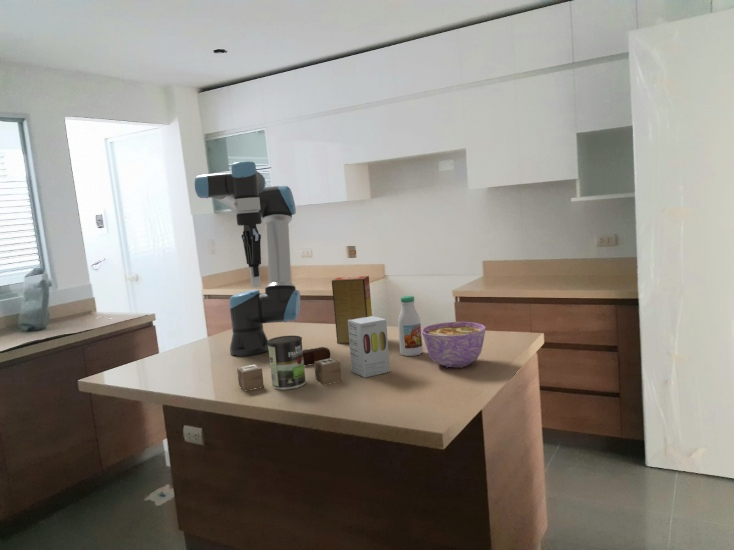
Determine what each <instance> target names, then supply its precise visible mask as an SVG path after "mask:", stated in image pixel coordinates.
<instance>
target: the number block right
mask: <svg viewBox="0 0 734 550" xmlns="http://www.w3.org/2000/svg"><path fill="white" fill-rule="evenodd" d="M313 365H314V373H315V374H314V375H315V381H316V380H317V381H316V382H318V383H319V382H320V384H321V385H323V386H326V385H330V384H329V383H331V384H334V382H335V383H338V381H339V382H342V381H343V376H342V368H341V365H342V364H341V361H340V360H337V359H336V358H333V357H330V358H329V359H325V360H320V361H315V362H314V364H313ZM325 384H326V385H325Z"/></svg>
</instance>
